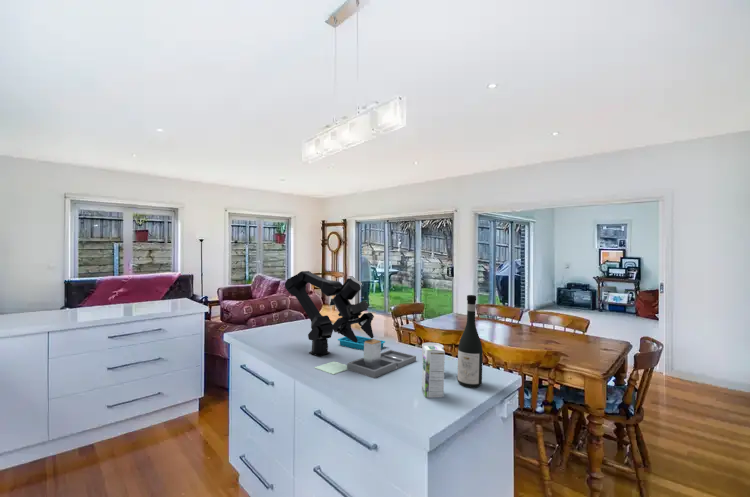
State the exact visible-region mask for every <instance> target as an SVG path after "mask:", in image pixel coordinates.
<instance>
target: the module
mask: <svg viewBox="0 0 750 497" xmlns="http://www.w3.org/2000/svg"><path fill="white" fill-rule="evenodd" d="M380 340H381V339H377V340H376V338H371V339H370V340H367V341H365V342H364V350H363V358H364V367H366V368H369V369H372V370H376V369H378V368H380V361H381V353H382V352H381V351H382V348H381V342H380Z"/></svg>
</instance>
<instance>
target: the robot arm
mask: <svg viewBox="0 0 750 497" xmlns="http://www.w3.org/2000/svg"><path fill="white" fill-rule="evenodd" d="M308 284H310V285H311V286H314V287H316V288H317V289H319V290H320V291H321V293H322V294H324V295H325V296H326V297H333V298H330V302H329V306H331V307H332V306H335V307H336V310H337V311H338V314H337V315H338V318H337V319H336V321H335V322H333V321H332V320H331V319H330V317H329V315H328V314H326V315H322V314H321V312H320V311H319V309H318V307H317V306H316V304H315V303H314V301H313V300H312V299H311V297H310V295H309V294H308V292H307V286H308ZM284 288H285V290H287V292H288V293H289V294H290V295H292V297H293V296H294V297H295V298H296V299H297V301H298V302H299V304H300V305H301V307H302V309H303V311H304V312H305V313H306V315H307V317H308V318H309V320H310V322H311V323H310V328H311V330H310V331H309V332H308V334H307V338H308V340H309V341H311V350H310V351H308V353H309V354H311V355H314V356H317V357H321V356H324V355H328V354H330V353H331V351H329V343H328V342H329V340H328V339H331V337H332V335H333V332H334V333H337V334H339V335H341V336H343V337H347V338H349V339H350V340H352V341H353V342H355V343H357V342H358V340H357V338H356V336H357V335H356V334H355V333H354V331H353V329H352V325H356V324H358V325H359V326H360V329H361V330H362V331H364V332H363V333H365V334H366V335H367V336H368V338H371V339H374V337H375V336H374V332H373V329H372V328H373V327H372V321H373V320H374V318H375V315H374V314H373V312H370V311H369V312H366V311H368V309H369V307H370V306H369V303H368V302H367V301H366V300H362V301H360V302H357V303H355V304H354V303H353V304H352V303H351V302H350V301H353V299H354V298H355V297H356V295H358V293H359V292H360V291H361V289H362V287H361V284H360V283H359V282H357V281H356V280H354V279H353V278H352V277H348V278H347V279H346V280H345V282H344V283H343V284H342V282H341V281H338V280H331V279H326V278H324V277H321V276H319V275H317V274H315V273H313V272H312V271H309V270H302V271H301V270H300V272H299V273H297V274H295V275H293V276H291V277H289V278H287V279H286V281H285V283H284ZM363 312H365V313H363ZM355 335H356V336H355Z"/></svg>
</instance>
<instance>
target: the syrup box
mask: <svg viewBox="0 0 750 497" xmlns="http://www.w3.org/2000/svg"><path fill="white" fill-rule="evenodd" d="M445 353H446V351H445V350H444V349H442V348H441V347H440V346H435V345H427V346H424V348H423V364H422V371H421V372H422V375H421V377H422V378H421V392H422V394H423V396H424V397H425V398H426V399H427V398H430V399H431V398H432V399H434V398H444V387H445V386H444V385H445V383H444V382H445V363H446V362H445V360H446V356H445Z"/></svg>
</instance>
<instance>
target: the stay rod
mask: <svg viewBox="0 0 750 497" xmlns="http://www.w3.org/2000/svg"><path fill="white" fill-rule="evenodd" d="M384 357H386V358H390V359H394V360H397V361H403V359H400V358H396V357H393V356H389V355H384Z"/></svg>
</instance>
